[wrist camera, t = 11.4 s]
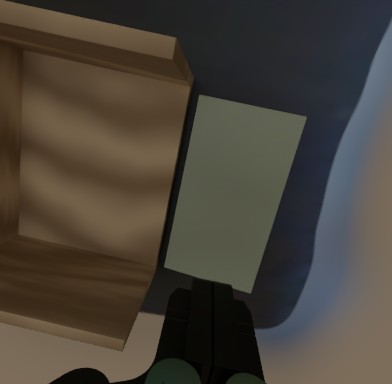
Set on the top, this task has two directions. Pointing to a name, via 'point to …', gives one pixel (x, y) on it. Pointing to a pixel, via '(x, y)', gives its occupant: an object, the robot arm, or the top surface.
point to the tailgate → (231, 190)
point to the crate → (84, 169)
